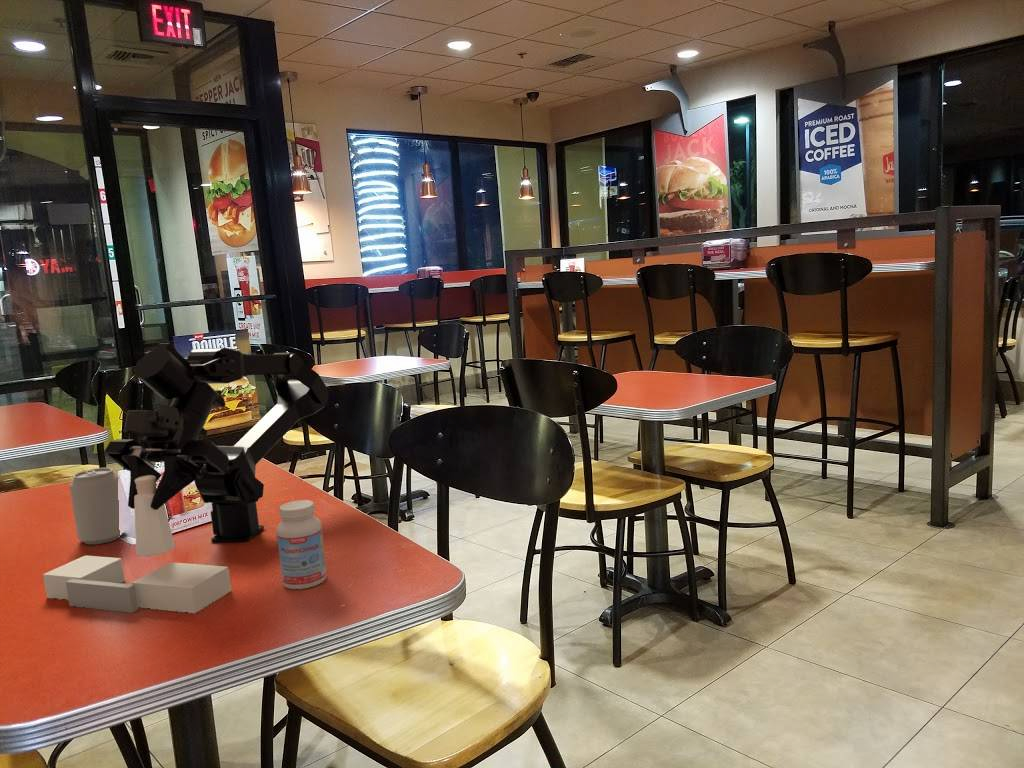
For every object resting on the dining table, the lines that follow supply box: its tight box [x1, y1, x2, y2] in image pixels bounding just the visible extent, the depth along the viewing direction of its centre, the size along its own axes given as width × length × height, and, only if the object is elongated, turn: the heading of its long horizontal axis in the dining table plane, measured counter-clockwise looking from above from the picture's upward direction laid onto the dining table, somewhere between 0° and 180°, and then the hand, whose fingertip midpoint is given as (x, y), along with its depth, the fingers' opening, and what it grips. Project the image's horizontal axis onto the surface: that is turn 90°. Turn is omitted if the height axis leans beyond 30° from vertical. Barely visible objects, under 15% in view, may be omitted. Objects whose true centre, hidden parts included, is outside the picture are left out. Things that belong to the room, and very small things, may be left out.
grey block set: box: [42, 555, 232, 614], centre depth 105 cm, size 26×8×4 cm, turn 71°
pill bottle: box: [276, 499, 327, 590], centre depth 105 cm, size 6×6×11 cm
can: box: [69, 467, 120, 545], centre depth 130 cm, size 8×8×12 cm
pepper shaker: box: [133, 475, 176, 557], centre depth 110 cm, size 5×5×11 cm
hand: (142, 508), depth 109 cm, fingers closed on pepper shaker, 4 cm apart
